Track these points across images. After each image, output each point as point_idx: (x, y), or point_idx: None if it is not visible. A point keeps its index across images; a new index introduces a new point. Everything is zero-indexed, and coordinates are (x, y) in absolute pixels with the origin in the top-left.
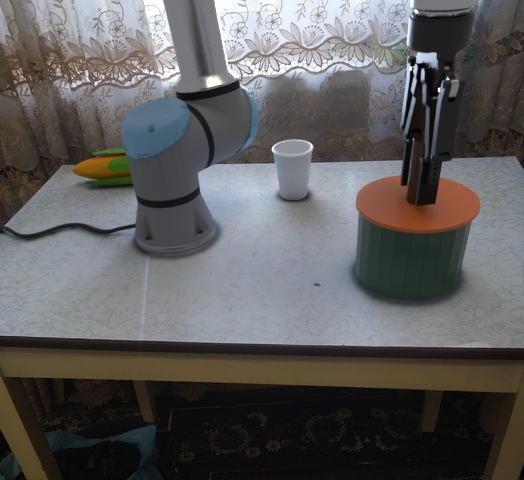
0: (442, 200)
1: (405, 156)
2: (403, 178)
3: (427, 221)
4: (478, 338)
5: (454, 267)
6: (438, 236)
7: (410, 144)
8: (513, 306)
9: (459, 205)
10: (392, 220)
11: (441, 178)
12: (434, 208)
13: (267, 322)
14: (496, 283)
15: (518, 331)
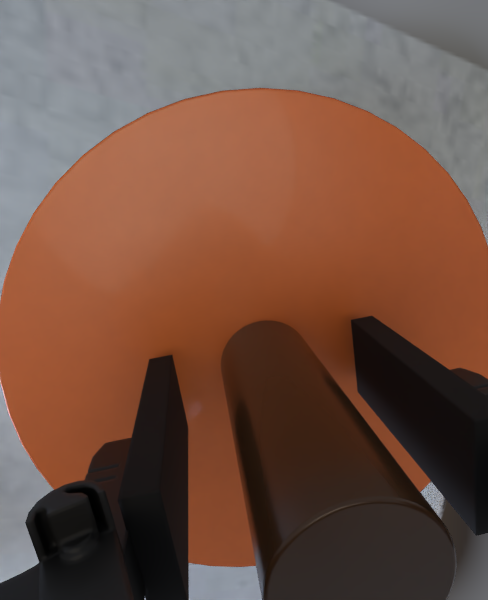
0: (284, 260)
1: (187, 527)
2: (187, 444)
3: (441, 346)
4: (484, 168)
5: None
6: None
7: (182, 570)
8: (390, 44)
9: (340, 199)
10: (412, 458)
11: (46, 218)
12: (350, 306)
13: None
14: (289, 54)
15: (478, 69)
